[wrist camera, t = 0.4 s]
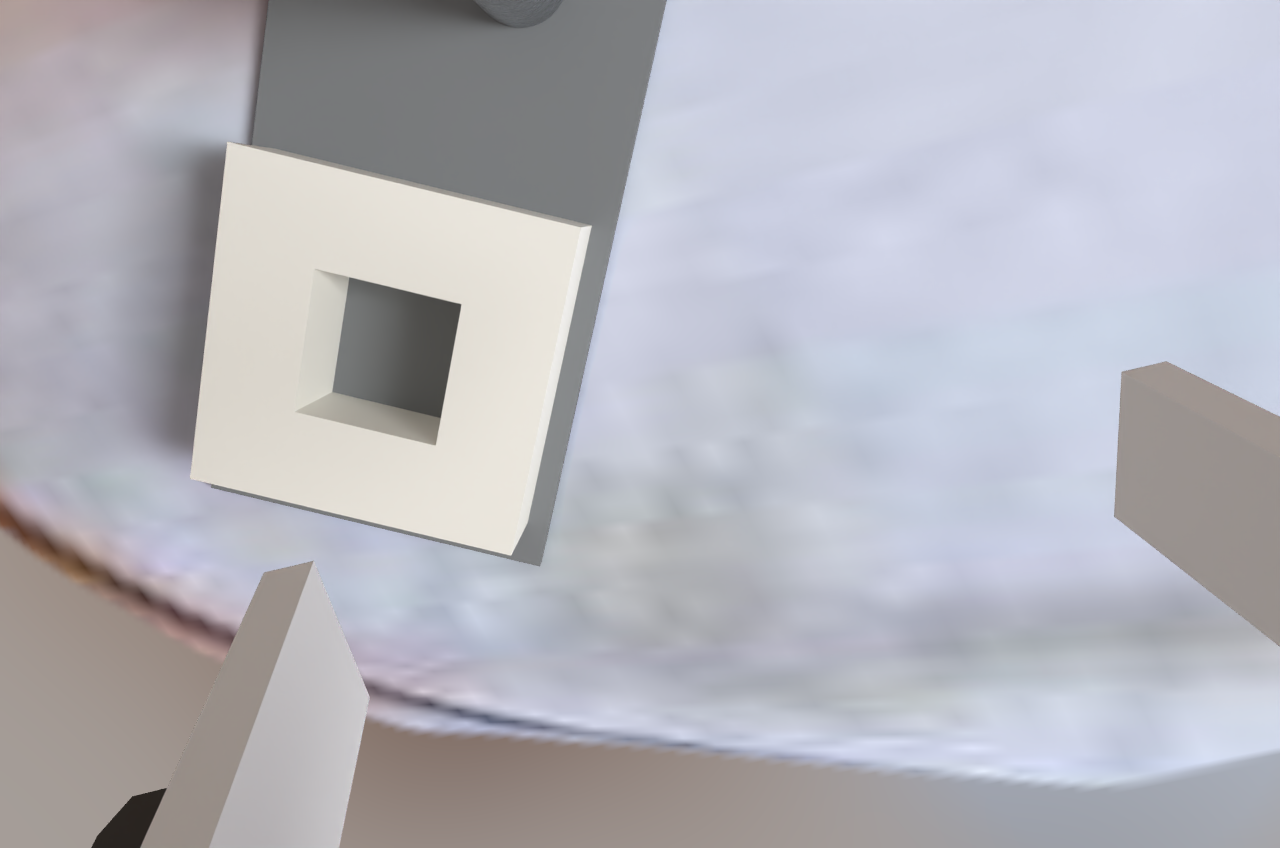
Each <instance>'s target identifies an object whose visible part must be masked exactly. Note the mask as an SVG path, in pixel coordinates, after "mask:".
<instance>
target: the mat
mask: <svg viewBox="0 0 1280 848" xmlns="http://www.w3.org/2000/svg"><path fill="white" fill-rule="evenodd" d="M666 1H667V0H563V1H562V3H561V5H560V6H559V8H558V9H557V10H556V11H555V13H554V14H553V15H552V16H550V17H549V18H548V19H547V20H545V21H543V22H542V23H540V24H537V25H535V26H531V27H525V28H515V27H510V26H507V25H504V24H502V23H499V22H498V21H496V20H495V19H493V18H492V17H491V16H489V15H488V14H487V13H486V12H485V11H484V10H483V9H482V8H481V7H480V6H479V5H478V4H477V3H476V2H475V1H474V0H269V2H268V11H267V19H266V28H265V36H264V45H263V53H262V62H261V70H260V79H259V87H258V96H257V104H256V113H255V121H254V130H253V138H252V145H253V146H260V147H267V148H274V149H279V150H283V151H287V152H291V153H295V154H299V155H303V156H308V157H312V158H316V159H320V160H324V161H328V162H332V163H336V164H341V165H345V166H349V167H353V168H357V169H361V170H365V171H369V172H374V173H378V174H382V175H386V176H390V177H394V178H398V179H402V180H406V181H411V182H415V183H419V184H423V185H427V186H431V187H435V188H439V189H444V190H448V191H452V192H456V193H460V194H464V195H468V196H472V197H477V198H481V199H485V200H489V201H493V202H497V203H501V204H505V205H510V206H514V207H518V208H522V209H526V210H530V211H534V212H538V213H543V214H547V215H551V216H555V217H559V218H563V219H567V220H571V221H576V222H580V223H584V224H588V225H592V227H591V232H590V236H589V241H588V245H587V250H586V255H585V259H584V264H583V269H582V273H581V278H580V282H579V287H578V292H577V296H576V301H575V306H574V310H573V315H572V320H571V324H570V329H569V333H568V338H567V343H566V347H565V352H564V357H563V361H562V366H561V371H560V375H559V380H558V384H557V389H556V394H555V398H554V403H553V408H552V412H551V417H550V421H549V426H548V431H547V435H546V440H545V445H544V449H543V454H542V459H541V463H540V468H539V472H538V477H537V482H536V486H535V491H534V496H533V500H532V505H531V510H530V514H529V519H528V523H527V525H526V527H525V529H524V531H523V533H522V535H521V537H520V539H519V541H518V543H517V545H516V547H515V549H514V551H513V553H512V555H511V556H510V555H506V554H502V553H498V552H494V551H489V550H485V549H481V548H477V547H473V546H468V545H464V544H460V543H456V542H452V541H448V540H443V539H439V538H435V537H431V536H427V535H423V534H418V533H414V532H410V531H406V530H402V529H398V528H393V527H389V526H385V525H381V524H377V523H372V522H368V521H364V520H360V519H356V518H352V517H347V516H343V515H339V514H335V513H331V512H327V511H322V510H318V509H314V508H310V507H306V506H302V505H297V504H293V503H289V502H285V501H281V500H276V499H272V498H268V497H264V496H260V495H256V494H251V493H247V492H243V491H239V490H235V489H231V488H226V487H222V486H218V485H214V484H212V486H211V488H215V489H219V490H223V491H228V492H232V493H236V494H240V495H244V496H248V497H253V498H257V499H261V500H265V501H269V502H273V503H278V504H282V505H286V506H290V507H294V508H299V509H303V510H307V511H311V512H315V513H319V514H324V515H328V516H332V517H336V518H340V519H344V520H349V521H353V522H357V523H361V524H365V525H370V526H374V527H378V528H382V529H386V530H390V531H395V532H399V533H403V534H407V535H411V536H415V537H420V538H424V539H428V540H432V541H436V542H440V543H445V544H449V545H453V546H457V547H461V548H466V549H470V550H474V551H478V552H482V553H486V554H491V555H495V556H499V557H503V558H507V559H511V560H516V561H520V562H524V563H528V564H532V565H536V566H540V565H541V562H542V557H543V553H544V549H545V544H546V540H547V535H548V531H549V526H550V522H551V517H552V513H553V508H554V504H555V499H556V495H557V490H558V486H559V481H560V477H561V472H562V468H563V463H564V459H565V454H566V450H567V445H568V441H569V436H570V432H571V427H572V423H573V418H574V414H575V409H576V405H577V400H578V396H579V391H580V387H581V382H582V378H583V373H584V369H585V364H586V360H587V355H588V351H589V346H590V342H591V338H592V333H593V329H594V324H595V320H596V315H597V311H598V306H599V302H600V297H601V293H602V288H603V284H604V279H605V275H606V270H607V266H608V261H609V257H610V252H611V248H612V243H613V239H614V234H615V230H616V225H617V221H618V216H619V212H620V207H621V203H622V198H623V194H624V189H625V185H626V180H627V176H628V171H629V167H630V162H631V158H632V153H633V149H634V144H635V140H636V135H637V131H638V127H639V122H640V118H641V113H642V109H643V104H644V100H645V95H646V91H647V86H648V82H649V77H650V73H651V68H652V64H653V59H654V55H655V50H656V46H657V41H658V37H659V32H660V28H661V23H662V19H663V14H664V10H665V5H666ZM461 305H462V304H459V303H454V302H450V301H446V300H442V299H438V298H434V297H430V296H425V295H421V294H417V293H413V292H409V291H405V290H401V289H396V288H392V287H388V286H384V285H380V284H376V283H372V282H367V281H363V280H359V279H355V278H351V277H349V283H348V290H347V297H346V303H345V310H344V317H343V323H342V330H341V337H340V343H339V350H338V357H337V363H336V370H335V377H334V383H333V390H332V392H335V393H339V394H343V395H347V396H351V397H355V398H360V399H364V400H368V401H372V402H376V403H380V404H384V405H389V406H393V407H397V408H401V409H405V410H409V411H414V412H418V413H422V414H426V415H430V416H434V417H439V418H441V414H442V409H443V403H444V398H445V393H446V387H447V382H448V376H449V371H450V365H451V360H452V354H453V349H454V343H455V338H456V333H457V327H458V322H459V316H460V311H461Z"/></svg>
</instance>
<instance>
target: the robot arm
mask: <svg viewBox="0 0 1280 848" xmlns="http://www.w3.org/2000/svg"><path fill="white" fill-rule="evenodd" d="M1114 517H1115V518H1117V519H1118V520H1119V521H1121V522H1122V523H1123V524H1124V525H1126V526H1127V527H1128V528H1129V529H1131V530H1132V531H1133V532H1135V533H1136V534H1137V535H1138V536H1140V537H1141V538H1142V539H1143V540H1145V541H1146V542H1147V543H1149V544H1150V545H1151V546H1152V547H1154V548H1155V549H1156V550H1158V551H1159V552H1160V553H1161V554H1163V555H1164V556H1165V557H1166V558H1168V559H1169V560H1170V561H1172V562H1173V563H1174V564H1175V565H1177V566H1178V567H1179V568H1180V569H1182V570H1183V571H1184V572H1186V573H1187V574H1188V575H1189V576H1191V577H1192V578H1193V579H1194V580H1196V581H1197V582H1198V583H1200V584H1201V585H1202V586H1203V587H1205V588H1206V589H1207V590H1208V591H1210V592H1211V593H1212V594H1214V595H1215V596H1216V597H1217V598H1219V599H1220V600H1221V601H1222V602H1224V603H1225V604H1226V605H1228V606H1229V607H1230V608H1231V609H1233V610H1234V611H1235V612H1236V613H1238V614H1239V615H1240V616H1242V617H1243V618H1244V619H1245V620H1247V621H1248V622H1249V623H1250V624H1252V625H1253V626H1254V627H1256V628H1257V629H1258V630H1259V631H1261V632H1262V633H1263V634H1264V635H1266V636H1267V637H1268V638H1270V639H1271V640H1272V641H1273V642H1275V643H1276V644H1277V645H1278V646H1280V417H1279V416H1277V415H1275V414H1273V413H1271V412H1269V411H1267V410H1265V409H1263V408H1261V407H1259V406H1257V405H1254V404H1252V403H1250V402H1248V401H1246V400H1244V399H1242V398H1240V397H1238V396H1236V395H1234V394H1232V393H1230V392H1228V391H1226V390H1224V389H1222V388H1220V387H1218V386H1216V385H1214V384H1212V383H1210V382H1207V381H1205V380H1203V379H1201V378H1199V377H1197V376H1195V375H1193V374H1191V373H1189V372H1187V371H1185V370H1183V369H1181V368H1179V367H1177V366H1175V365H1173V364H1171V363H1169V362H1167V361H1166V362H1162V363H1157V364H1153V365H1149V366H1145V367H1140V368H1136V369H1132V370H1128V371H1123V372H1122V374H1121V394H1120V413H1119V432H1118V452H1117V471H1116V490H1115V509H1114ZM369 698H370V697H369V695H368V692H367V690H366V687H365V685H364V682H363V680H362V678H361V675H360V673H359V670H358V668H357V665H356V663H355V660H354V658H353V656H352V653H351V651H350V648H349V646H348V643H347V641H346V639H345V636H344V634H343V631H342V629H341V626H340V624H339V622H338V619H337V617H336V614H335V612H334V609H333V607H332V605H331V602H330V600H329V597H328V595H327V592H326V590H325V587H324V585H323V583H322V580H321V578H320V575H319V573H318V570H317V568H316V566H315V563H314V561H312V562H307V563H303V564H299V565H294V566H290V567H286V568H282V569H277V570H273V571H269V572H265V573H264V574H263V576H262V578H261V580H260V583H259V585H258V587H257V589H256V591H255V594H254V596H253V598H252V600H251V603H250V605H249V607H248V609H247V611H246V614H245V616H244V618H243V620H242V623H241V625H240V627H239V629H238V631H237V634H236V636H235V638H234V640H233V643H232V645H231V647H230V649H229V651H228V654H227V656H226V658H225V660H224V663H223V665H222V667H221V669H220V672H219V674H218V676H217V678H216V680H215V683H214V685H213V687H212V690H211V692H210V694H209V696H208V698H207V700H206V703H205V705H204V707H203V709H202V712H201V714H200V716H199V718H198V720H197V723H196V725H195V727H194V729H193V732H192V734H191V736H190V738H189V741H188V743H187V745H186V747H185V749H184V752H183V754H182V756H181V758H180V760H179V763H178V765H177V767H176V769H175V772H174V774H173V776H172V778H171V780H170V783H169V785H168V787H167V788H165V789H161V790H157V791H153V792H149V793H145V794H141V795H137V796H132V798H131V799H130V800H129V801H128V802H127V803H126V804H125V805H124V807H123V808H122V809H121V810H120V811H119V812H118V813H117V814H116V816H115V817H114V818H113V819H112V820H111V821H110V823H108V825H107V826H106V827H105V828H104V829H103V830H102V831H101V833H99V835H98V836H97V838H96V840H95V842H94V844H93V846H92V848H339V844H340V839H341V835H342V830H343V825H344V820H345V815H346V810H347V805H348V800H349V796H350V791H351V786H352V781H353V776H354V771H355V766H356V761H357V756H358V752H359V747H360V742H361V737H362V732H363V727H364V722H365V718H366V713H367V708H368V703H369Z"/></svg>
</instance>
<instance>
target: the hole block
mask: <svg viewBox="0 0 1280 848" xmlns="http://www.w3.org/2000/svg"><path fill="white" fill-rule="evenodd" d="M591 227H592V225H588V224H584V223H580V222H576V221H571V220H567V219H563V218H559V217H555V216H551V215H547V214H543V213H538V212H534V211H530V210H526V209H522V208H518V207H514V206H510V205H505V204H501V203H497V202H493V201H489V200H485V199H481V198H477V197H472V196H468V195H464V194H460V193H456V192H452V191H448V190H444V189H439V188H435V187H431V186H427V185H423V184H419V183H415V182H411V181H406V180H402V179H398V178H394V177H390V176H386V175H382V174H378V173H374V172H369V171H365V170H361V169H357V168H353V167H349V166H345V165H341V164H336V163H332V162H328V161H324V160H320V159H316V158H312V157H308V156H303V155H299V154H295V153H291V152H287V151H283V150H279V149H274V148H267V147H260V146H253V145H246V144H239V143H232V142H227V150H226V159H225V168H224V177H223V186H222V195H221V204H220V213H219V222H218V231H217V240H216V249H215V258H214V267H213V276H212V285H211V294H210V303H209V312H208V321H207V330H206V339H205V348H204V357H203V366H202V375H201V384H200V393H199V402H198V411H197V420H196V429H195V438H194V447H193V456H192V465H191V474H190V479H193V480H197V481H201V482H206V483H210V484H214V485H218V486H222V487H226V488H231V489H235V490H239V491H243V492H247V493H251V494H256V495H260V496H264V497H268V498H272V499H276V500H281V501H285V502H289V503H293V504H297V505H302V506H306V507H310V508H314V509H318V510H322V511H327V512H331V513H335V514H339V515H343V516H347V517H352V518H356V519H360V520H364V521H368V522H372V523H377V524H381V525H385V526H389V527H393V528H398V529H402V530H406V531H410V532H414V533H418V534H423V535H427V536H431V537H435V538H439V539H443V540H448V541H452V542H456V543H460V544H464V545H468V546H473V547H477V548H481V549H485V550H489V551H494V552H498V553H502V554H506V555H510V556H511V555H512V553H513V551H514V549H515V547H516V545H517V543H518V541H519V539H520V537H521V535H522V533H523V531H524V529H525V527H526V525H527V523H528V519H529V514H530V510H531V505H532V500H533V496H534V491H535V486H536V482H537V477H538V472H539V468H540V463H541V459H542V454H543V449H544V445H545V440H546V435H547V431H548V426H549V421H550V417H551V412H552V408H553V403H554V398H555V394H556V389H557V384H558V380H559V375H560V371H561V366H562V361H563V357H564V352H565V347H566V343H567V338H568V333H569V329H570V324H571V320H572V315H573V310H574V306H575V301H576V296H577V292H578V287H579V282H580V278H581V273H582V269H583V264H584V259H585V255H586V250H587V245H588V241H589V236H590V232H591ZM349 277H351V278H355V279H359V280H363V281H367V282H372V283H376V284H380V285H384V286H388V287H392V288H396V289H401V290H405V291H409V292H413V293H417V294H421V295H425V296H430V297H434V298H438V299H442V300H446V301H450V302H454V303H459V304H462V305H461V311H460V316H459V322H458V327H457V333H456V338H455V343H454V349H453V354H452V360H451V365H450V371H449V376H448V382H447V387H446V393H445V398H444V403H443V409H442V414H441V418H439V417H434V416H430V415H426V414H422V413H418V412H414V411H409V410H405V409H401V408H397V407H393V406H389V405H384V404H380V403H376V402H372V401H368V400H364V399H360V398H355V397H351V396H347V395H343V394H339V393H335V392H332V390H333V383H334V377H335V370H336V363H337V357H338V350H339V343H340V337H341V330H342V323H343V317H344V310H345V303H346V297H347V290H348V283H349Z"/></svg>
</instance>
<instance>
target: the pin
mask: <svg viewBox="0 0 1280 848" xmlns="http://www.w3.org/2000/svg"><path fill="white" fill-rule="evenodd" d="M474 1H475V2H476V3H477V4H478V5H479V6H480V7H481V8H482V9H483V10H484V11H485V12H486V13H487V14H488V15H489V16H491V17H492V18H493V19H495V20H496V21H498V22H499V23H502V24H504V25H507V26H510V27H515V28H525V27H531V26H535V25H537V24H540V23H542V22H543V21H545V20H547V19H548V18H549V17H550V16H552V15H553V14H554V13H555V11H556V10H557V9H558V8H559V6H560V5H561V3H562V1H563V0H474Z"/></svg>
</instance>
